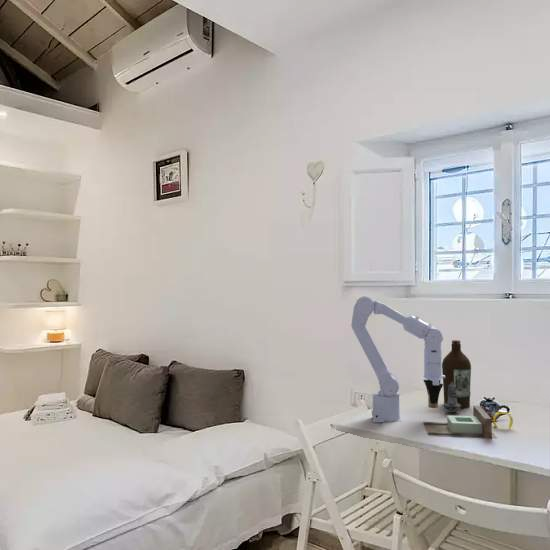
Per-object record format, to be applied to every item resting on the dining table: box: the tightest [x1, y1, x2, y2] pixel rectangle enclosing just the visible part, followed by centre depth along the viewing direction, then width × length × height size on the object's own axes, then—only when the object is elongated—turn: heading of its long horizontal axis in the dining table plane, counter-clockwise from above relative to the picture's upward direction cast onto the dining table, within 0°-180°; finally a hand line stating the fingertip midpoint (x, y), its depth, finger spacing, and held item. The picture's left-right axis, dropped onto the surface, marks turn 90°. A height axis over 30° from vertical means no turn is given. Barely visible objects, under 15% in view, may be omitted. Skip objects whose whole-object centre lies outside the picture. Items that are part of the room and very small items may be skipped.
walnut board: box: [422, 405, 498, 440], centre depth 167 cm, size 20×16×7 cm
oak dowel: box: [427, 392, 439, 409], centre depth 178 cm, size 3×3×6 cm
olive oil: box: [441, 339, 472, 409], centre depth 200 cm, size 11×11×25 cm
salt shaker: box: [443, 382, 461, 415], centre depth 187 cm, size 6×6×12 cm
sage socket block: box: [446, 414, 482, 434], centre depth 166 cm, size 9×9×3 cm
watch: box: [492, 409, 514, 429], centre depth 169 cm, size 6×3×6 cm, turn 86°
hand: (433, 402), depth 178 cm, fingers closed on oak dowel, 3 cm apart
